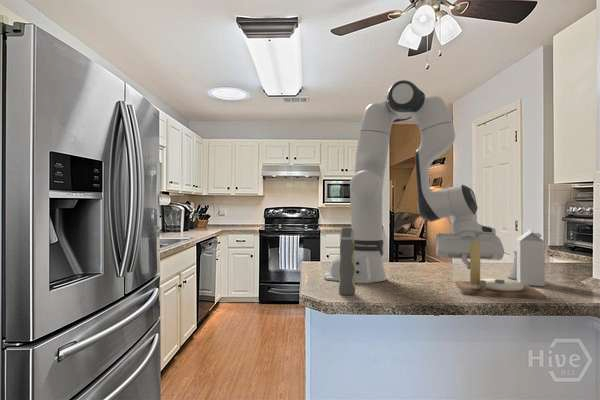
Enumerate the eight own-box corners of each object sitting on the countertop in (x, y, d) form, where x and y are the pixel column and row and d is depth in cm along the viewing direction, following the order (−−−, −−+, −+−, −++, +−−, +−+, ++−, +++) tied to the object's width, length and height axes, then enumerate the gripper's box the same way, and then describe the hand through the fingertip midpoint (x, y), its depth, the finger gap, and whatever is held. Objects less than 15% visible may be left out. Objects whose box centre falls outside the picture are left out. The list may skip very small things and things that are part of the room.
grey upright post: (355, 292, 114) (356, 227, 114) (354, 296, 109) (354, 228, 109) (340, 291, 115) (340, 226, 115) (337, 295, 110) (337, 227, 111)
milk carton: (520, 285, 126) (520, 228, 126) (516, 281, 132) (516, 227, 133) (544, 287, 123) (544, 229, 123) (540, 282, 130) (539, 228, 130)
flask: (524, 277, 140) (524, 250, 140) (534, 281, 133) (534, 253, 133) (503, 276, 141) (503, 250, 141) (512, 280, 133) (512, 252, 134)
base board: (463, 294, 112) (463, 281, 112) (455, 283, 128) (455, 271, 128) (546, 299, 107) (546, 285, 107) (527, 287, 122) (527, 275, 122)
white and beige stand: (501, 281, 125) (501, 239, 125) (534, 290, 113) (534, 243, 113) (457, 283, 121) (457, 240, 121) (486, 293, 109) (486, 244, 109)
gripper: (434, 227, 127) (437, 260, 118) (500, 228, 122) (509, 263, 113) (433, 239, 131) (436, 272, 122) (496, 240, 127) (505, 275, 117)
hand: (472, 268), depth 117 cm, fingers closed
